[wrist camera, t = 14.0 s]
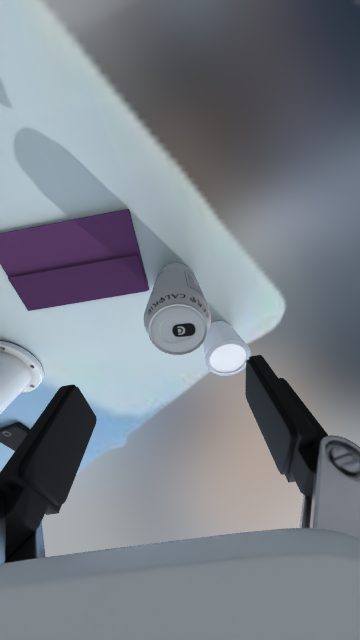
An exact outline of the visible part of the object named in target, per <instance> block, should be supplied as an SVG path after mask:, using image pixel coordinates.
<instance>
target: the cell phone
mask: <svg viewBox="0 0 360 640" xmlns="http://www.w3.org/2000/svg"><path fill="white" fill-rule="evenodd" d="M29 431H30V430H29V429H27V428H26V427H24V426H23V425H22V424H20V423H16V424H13V425H10V426H7V427H4V428H2V429H0V442H1V443H2V444H4V445H6V446H7V447H9V448H11V449H13V450H14V451H16V450H17V448H18V447H19V445H20V444H21V443H22V441H23V440H24V438H25V437H26V435H27V434H28V433H29Z"/></svg>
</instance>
